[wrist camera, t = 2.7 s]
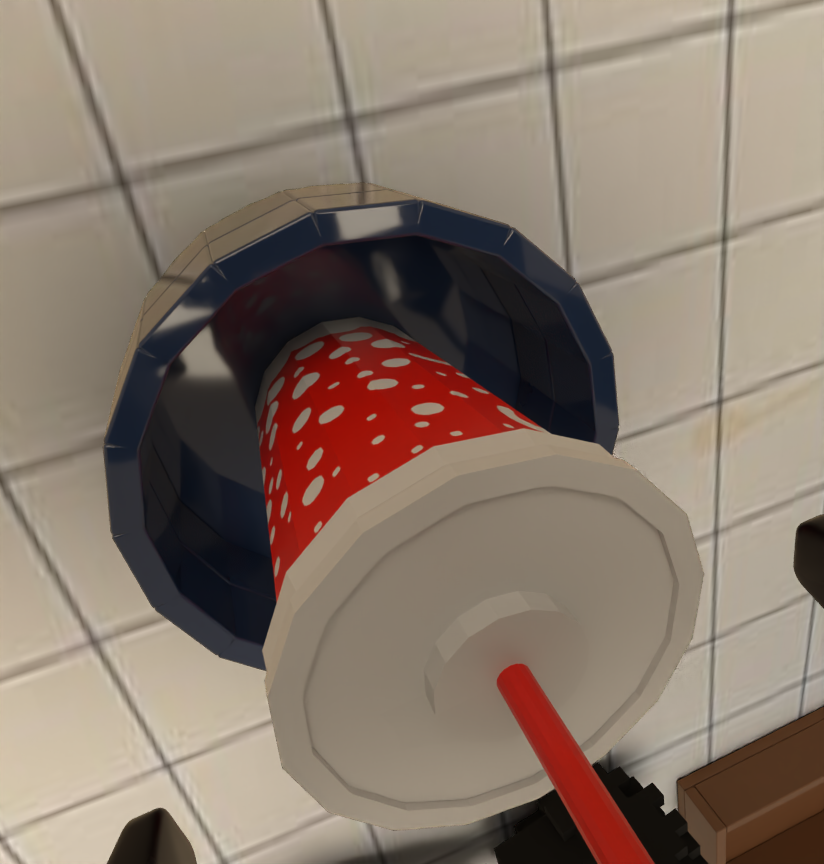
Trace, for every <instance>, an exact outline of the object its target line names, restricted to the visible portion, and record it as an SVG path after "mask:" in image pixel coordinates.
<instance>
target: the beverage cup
mask: <svg viewBox="0 0 824 864" xmlns="http://www.w3.org/2000/svg"><path fill="white" fill-rule="evenodd" d="M255 411H256V420H257V429H258V438H259V447H260V456H261V465H262V475H263V484H264V493H265V502H266V511H267V520H268V529H269V538H270V547H271V556H272V565H273V574H274V583H275V592H276V601H277V604H276V607H275V610H274V614H273V617H272V620H271V623H270V627H269V630H268V633H267V636H266V640H265V643H264V646H263V649H262V652H263V656H264V661H265V666H266V671H267V675H266V678H265V686H266V693H267V699H268V704H269V708H270V713H271V718H272V723H273V727H274V732H275V737H276V741H277V746H278V751H279V755H280V760H281V765H282V768H283V769H284V770H285V771H286V772H287V773H288V774H289V775H290V776H291V777H292V778H293V779H294V780H295V781H296V782H297V783H298V784H299V785H300V786H301V787H303V788H304V789H305V790H306V791H307V792H308V793H309V794H310V795H311V796H312V797H313V798H314V799H315V800H316V801H317V802H318V803H319V804H320V805H321V806H322V807H323V808H324V809H325V810H326V811H327V812H328V813H332V814H335V815H339V816H343V817H346V818H350V819H353V820H357V821H361V822H364V823H368V824H371V825H375V826H379V827H382V828H386V829H389V830H393V831H397V830H409V829H421V828H433V827H445V826H458V825H467V824H470V823H473V822H476V821H479V820H481V819H484V818H487V817H490V816H492V815H495V814H498V813H501V812H503V811H506V810H509V809H512V808H514V807H517V806H520V805H523V804H525V803H528V802H531V801H534V800H536V799H539V798H541V797H542V796H544V795H545V794H547V793H548V792H550V791H551V790H553V789H554V788H555V789H556V791H557V793H558V795H559V796H560V798H561V800H562V802H563V803H564V805H565V807H566V809H567V811H568V812H569V814H570V816H571V818H572V819H573V821H574V823H575V825H576V826H577V828H578V830H579V832H580V833H581V835H582V837H583V839H584V840H585V842H586V844H587V846H588V848H589V849H590V851H591V853H592V855H593V856H594V858H595V860H596V862H597V863H598V864H655V863H654V862H653V860H652V859H651V857H650V856H649V854H648V852H647V851H646V849H645V848H644V846H643V845H642V843H641V842H640V840H639V838H638V837H637V835H636V834H635V832H634V831H633V829H632V828H631V826H630V824H629V823H628V821H627V820H626V818H625V817H624V815H623V814H622V812H621V811H620V809H619V807H618V806H617V804H616V803H615V801H614V800H613V798H612V797H611V795H610V793H609V792H608V790H607V789H606V787H605V786H604V784H603V783H602V781H601V779H600V778H599V776H598V775H597V773H596V772H595V770H594V769H593V767H592V766H591V764H593V763H594V762H596V761H598V760H599V759H601V758H602V757H604V756H605V755H606V754H607V753H608V752H609V751H610V750H611V749H612V748H613V747H614V746H615V745H616V743H617V742H618V741H619V740H620V739H621V738H622V737H623V736H624V735H625V734H626V733H627V732H628V731H629V730H630V729H631V728H632V727H633V726H634V725H635V724H636V723H637V722H638V721H639V720H640V719H641V718H642V717H643V716H644V715H645V713H646V712H647V711H648V710H649V709H650V708H651V707H652V706H653V705H654V704H655V703H656V702H657V701H658V699H659V697H660V695H661V694H662V692H663V690H664V688H665V687H666V685H667V683H668V681H669V679H670V678H671V676H672V674H673V672H674V670H675V669H676V667H677V665H678V663H679V662H680V660H681V658H682V656H683V654H684V653H685V651H686V649H687V647H688V646H689V644H690V642H691V640H692V637H693V632H694V626H695V621H696V615H697V610H698V604H699V599H700V593H701V588H702V582H703V577H704V572H703V568H702V565H701V561H700V558H699V554H698V551H697V547H696V544H695V541H694V537H693V534H692V530H691V527H690V523H689V520H688V516H687V514H686V513H685V512H684V511H683V510H682V509H681V508H680V507H678V506H677V505H676V504H675V503H674V502H673V501H672V500H670V499H669V498H668V497H667V496H666V495H665V494H664V493H662V492H661V491H660V490H659V489H658V488H657V487H656V486H655V485H653V484H652V483H651V482H650V481H649V480H648V479H647V478H645V477H644V476H643V475H642V474H641V473H640V472H639V471H637V470H636V469H635V468H634V467H632V466H631V465H630V464H628V463H627V462H626V461H624V460H622V459H617V458H614V457H613V456H612V455H611V454H610V453H609V452H607V451H606V450H605V449H604V448H603V447H602V446H601V445H599V444H596V443H591V442H586V441H582V440H577V439H572V438H567V437H563V436H558V435H553V434H551V433H549V432H548V431H546V430H545V429H543V428H542V427H540V426H539V425H538V424H536V423H535V422H533V421H532V420H530V419H529V418H527V417H526V416H524V415H523V414H521V413H520V412H519V411H517V410H516V409H514V408H513V407H511V406H510V405H508V404H507V403H505V402H504V401H502V400H501V399H500V398H498V397H497V396H495V395H494V394H492V393H491V392H489V391H488V390H486V389H485V388H483V387H482V386H481V385H479V384H478V383H476V382H475V381H473V380H472V379H470V378H469V377H467V376H466V375H464V374H463V373H462V372H460V371H459V370H457V369H456V368H454V367H453V366H451V365H450V364H448V363H447V362H445V361H444V360H443V359H441V358H440V357H438V356H437V355H435V354H434V353H432V352H431V351H429V350H428V349H426V348H425V347H424V346H422V345H421V344H419V343H418V342H416V341H415V340H413V339H412V338H410V337H409V336H408V335H406V334H405V333H403V332H402V331H400V330H399V329H397V328H396V327H394V326H392V325H388V324H384V323H380V322H376V321H373V320H369V319H365V318H361V317H355V318H348V319H341V320H334V321H327V322H321V323H319V324H317V325H316V326H314V327H312V328H311V329H309V330H307V331H305V332H304V333H302V334H300V335H298V336H297V337H295V338H293V339H292V340H290V341H288V342H287V343H286V345H285V346H284V347H283V348H282V350H281V351H280V352H279V354H278V355H277V356H276V357H275V359H274V360H273V361H272V363H271V364H270V365H269V366H268V368H267V369H266V370H265V372H264V375H263V378H262V382H261V386H260V390H259V394H258V397H257V401H256V405H255Z"/></svg>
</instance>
